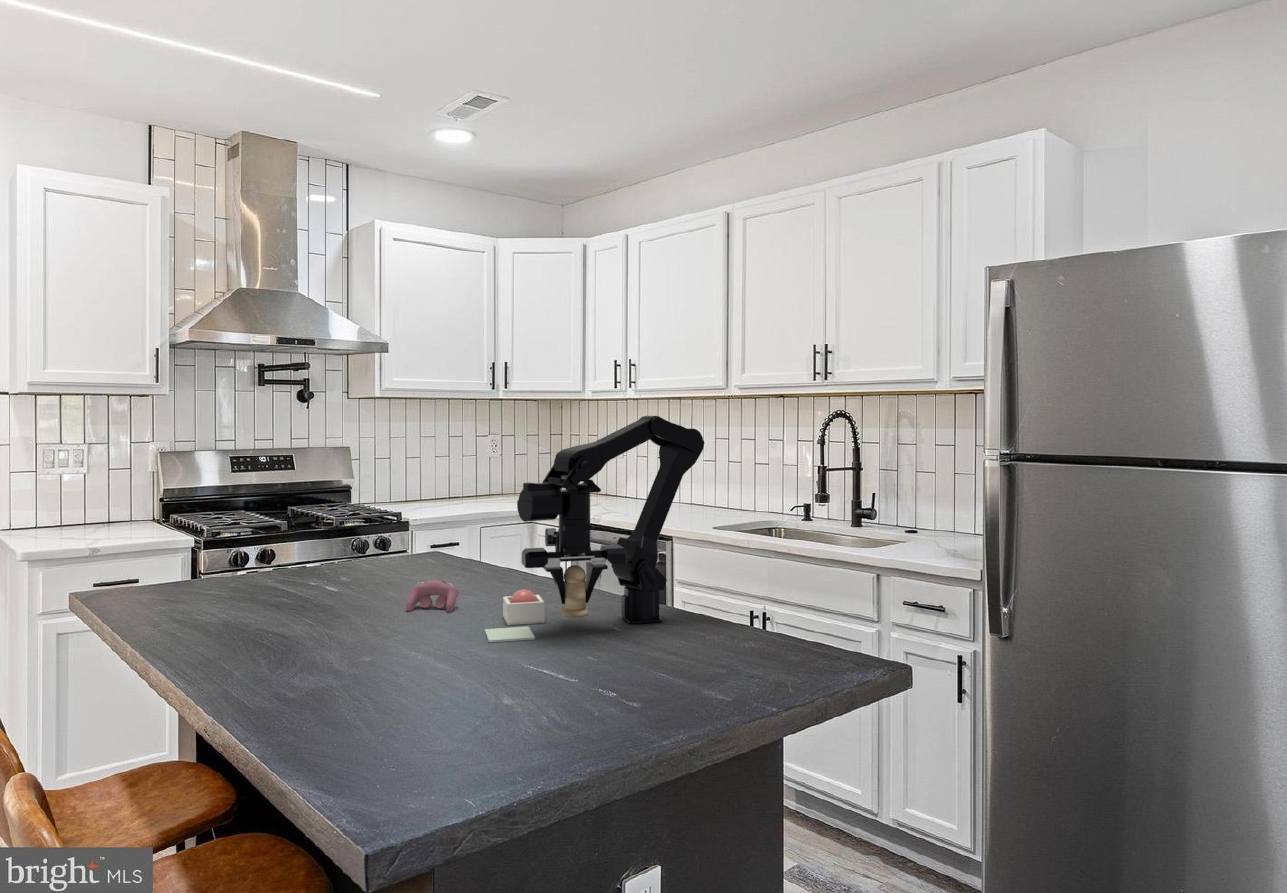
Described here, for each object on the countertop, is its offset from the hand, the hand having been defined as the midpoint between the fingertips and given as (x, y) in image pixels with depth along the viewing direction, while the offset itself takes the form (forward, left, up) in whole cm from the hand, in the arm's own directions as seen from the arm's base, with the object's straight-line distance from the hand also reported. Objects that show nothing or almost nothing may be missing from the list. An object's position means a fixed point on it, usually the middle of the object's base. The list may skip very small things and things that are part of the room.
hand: (574, 603), depth 155 cm
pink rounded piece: (+8, -11, -5) cm, 14 cm away
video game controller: (+24, -25, -5) cm, 36 cm away
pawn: (0, 0, -2) cm, 2 cm away
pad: (+12, 0, -5) cm, 13 cm away
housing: (+8, -11, -5) cm, 14 cm away
